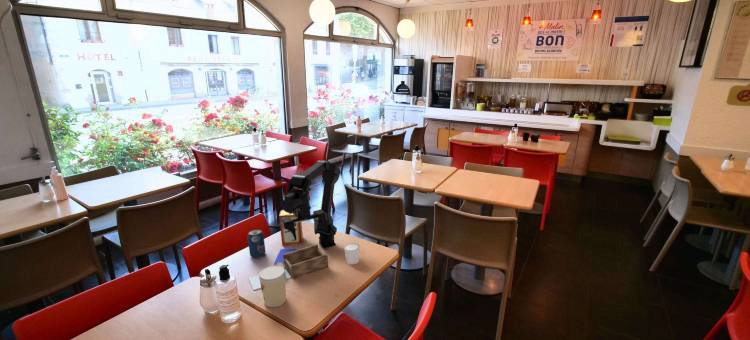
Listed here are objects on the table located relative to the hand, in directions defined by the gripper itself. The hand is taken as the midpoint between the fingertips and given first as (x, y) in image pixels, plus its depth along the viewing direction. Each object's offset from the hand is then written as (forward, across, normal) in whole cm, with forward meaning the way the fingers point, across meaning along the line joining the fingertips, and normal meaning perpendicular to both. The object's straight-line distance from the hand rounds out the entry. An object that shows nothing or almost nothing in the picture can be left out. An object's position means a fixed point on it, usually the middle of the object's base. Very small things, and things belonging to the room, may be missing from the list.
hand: (305, 237), depth 150 cm
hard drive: (+13, +7, -10) cm, 18 cm away
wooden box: (+12, +2, +3) cm, 13 cm away
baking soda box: (+13, -1, -23) cm, 26 cm away
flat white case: (+13, +18, +3) cm, 22 cm away
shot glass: (+13, -17, +10) cm, 23 cm away
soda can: (+13, +17, -19) cm, 28 cm away
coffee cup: (+13, +20, +18) cm, 30 cm away
